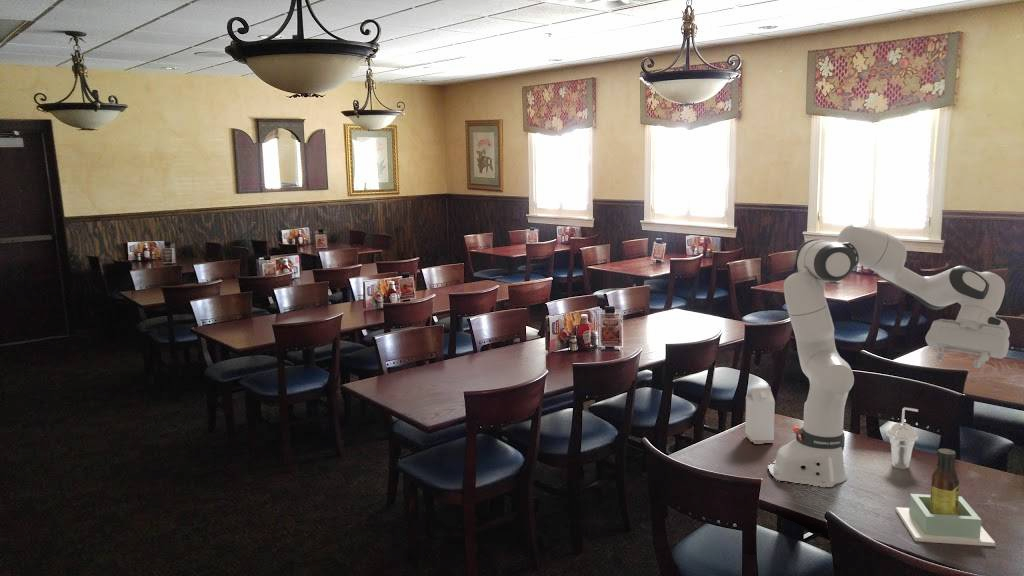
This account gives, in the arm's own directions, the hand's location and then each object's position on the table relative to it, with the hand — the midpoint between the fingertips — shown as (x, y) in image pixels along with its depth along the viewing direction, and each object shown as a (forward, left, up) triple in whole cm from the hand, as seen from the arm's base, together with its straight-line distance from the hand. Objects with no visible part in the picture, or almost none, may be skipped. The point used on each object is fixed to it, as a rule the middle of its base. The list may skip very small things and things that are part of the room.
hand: (957, 363), depth 203 cm
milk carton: (-49, +29, -38) cm, 68 cm away
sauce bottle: (-10, -24, -37) cm, 45 cm away
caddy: (-10, -25, -37) cm, 46 cm away
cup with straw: (-9, +13, -38) cm, 41 cm away
